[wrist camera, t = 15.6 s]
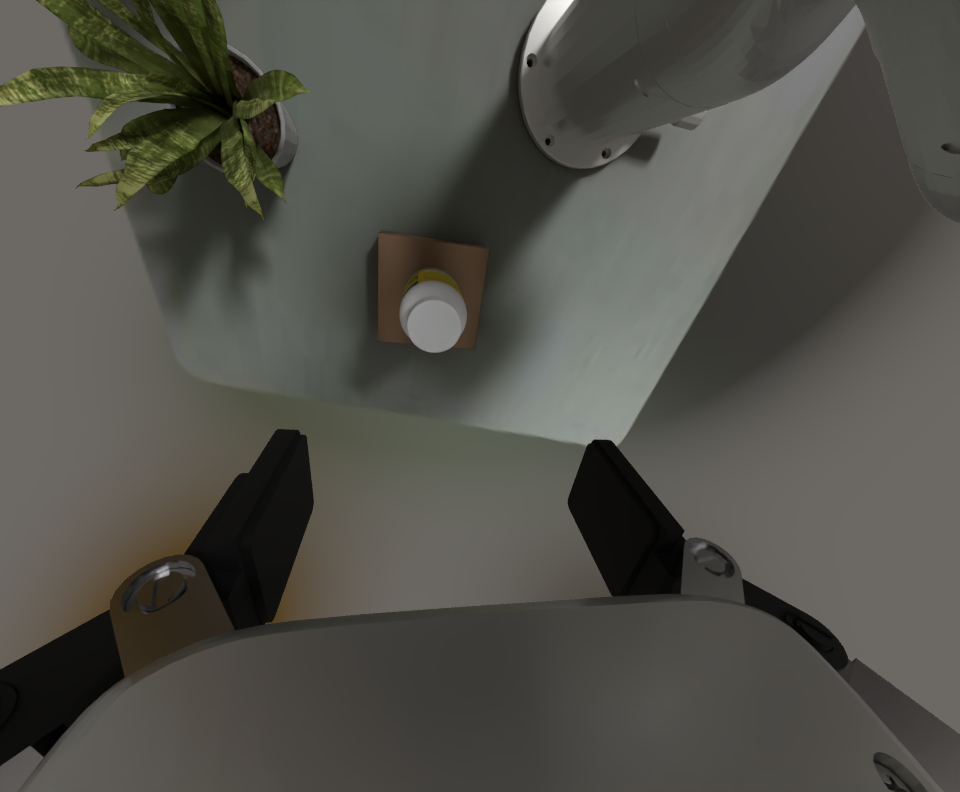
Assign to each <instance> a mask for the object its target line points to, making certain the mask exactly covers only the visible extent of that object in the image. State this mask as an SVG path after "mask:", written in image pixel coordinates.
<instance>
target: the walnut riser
mask: <svg viewBox="0 0 960 792" xmlns="http://www.w3.org/2000/svg"><path fill="white" fill-rule="evenodd" d="M489 250H490V249H489V248H487V247H485V246H482V245H475V244H468V243H462V242H455V241H448V240H441V239H435V238H428V237H421V236H414V235H407V234H401V233H394V232H387V231H381V232H379V233H378V341H379V342H391V343H403V344H414V343H413V342H412V341H411V339H410V338H409V337H408V336H407V334H406V333H405V332H404V330H403V328H402V325H401V322H400V316H399V313H400V304H401V300H402V296H403V291H404V288H405V285H406V283H407V281H408V279H409V278H410V277H411V276H412V275H413V274H414V273H415V272H417V271H419V270H421V269H424V268H437V269H441V270H443V271H445V272H447V273H448V274H449V275H450V276H451V277H452V278H453V279H454V280H455V282H456V283H457V285H458V287H459V290H460V292H461V295H462V297H463V299H464V302H465V305H466V310H467V321H466V325H465V328H464V330H463V332H462V334H461V335H460V337H459V339H458V341H457V342H456V343H455V345H454V346H452V347H451V348H463V349H474V350H475V345H476V338H477V332H478V325H479V318H480V311H481V304H482V298H483V291H484V284H485V277H486V270H487V264H488V257H489Z"/></svg>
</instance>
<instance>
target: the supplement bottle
mask: <svg viewBox="0 0 960 792" xmlns="http://www.w3.org/2000/svg"><path fill="white" fill-rule="evenodd" d="M399 316H400V322H401V325H402V328H403V330H404V332H405V333H406V334H407V336H408V337H409V338H410V339H411V341H412V342H413V343H414V344H415V345H416V346H417V347H418V348H420V349H421V350H423V351H426V352H430V353H439V352H443V351H446V350H448V349H450V348H451V347H452V346H454V345H455V343H456V342H457V341H458V339H459V337H460V335H461V334H462V332H463V330H464V328H465V325H466V321H467V310H466V305H465V302H464V299H463V297H462V295H461V292H460V290H459V287H458V285H457V283H456V282H455V280H454V279H453V278H452V277H451V276H450V275H449V274H448V273H447V272H445V271H443V270H441V269H437V268H424V269H421V270H419V271H417V272H415V273H414V274H413V275H412V276H411V277H410V278H409V279H408V281H407V283H406V285H405V288H404V291H403V296H402V300H401V304H400V313H399Z"/></svg>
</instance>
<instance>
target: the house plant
mask: <svg viewBox="0 0 960 792" xmlns="http://www.w3.org/2000/svg"><path fill="white" fill-rule="evenodd" d="M36 1H38V2H39V3H40V4H42V5H43V6H44V7H46V8H47V9H48V10H49V11H51V12H52V13H53V14H55V15H56V16H57V17H59V18H60V19H62V20H63V21H64V22H66V23H67V24H69V26H68V30H69V33H70V35H71V37H72V39H73V42H74V44H75V46H76V47H77V48H78V49H79V50H80V51H81V52H82V53H83V54H84V55H86V56H87V57H89V58H90V59H92V60H94V61H97V62H99V63H102V64H105V65H108V66H111V67H114V68H118V69H121V70H124V71H126V72H128V73H130V74H127V73H121V72H114V71H108V70H99V69H90V68H77V67H50V68H37V69H31V70H30V71H27V72H25V73H23V74H21V75H19V76H17V77H15V78H13V79H11V80H10V81H8V82H6V83H5V84H3V85H1V86H0V106H5V105H10V104H16V103H24V102H32V101H39V100H45V99H51V98H61V97H73V96H82V97H91V98H100V99H103V100H102V101H101V103H100V104H99V105H98V107H97V109H96V110H95V112H94V114H93V116H92V118H91V120H90V122H89V134H88V138H90V137H91V136H92V135H93V134H94V133H95V132H96V131H97V129H98V128H99V127H100V126H101V125H102V124H103V123H104V122H105V121H106V120H107V119H108V117H109V116H110V115H111V114H112V112H113V111H114V110H115V109H117V108H118V107H120V106H121V105H123V104H125V103H129V102H133V101H139V102H151V103H164V104H165V107H166V109H163V110H159V111H155V112H151V113H148V114H146V115H143V116H140V117H138V118H136V119H134V120H131V121H130V122H128V123H127V124H126V125H124V126H123V128H122V131H121V133H119V134H116V135H114V136H111V137H109V138H108V139H106V140H103V141H100V142H97V143H94V144H92V146H91V147H90V148H89V149H88V150H87V151H88V152H93V151H110V150H120V156H121V160H123V159H124V160H126V164H125V169H123V170H117V171H112V172H108V173H104V174H100V175H97V176H95V177H93V178H91V179H89V180H86V181H84V182H82V183H80V184H79V185H78V186H77V187H79V186H103V185H109V184H117V183H118V186H117V188H116V196H117V208H116V209H118V208H120V207H121V206H123V205H124V204H125V203H126V202H127V201H128V200H129V199H130V198H131V197H132V196H133V195H134V194H136V193H137V192H138V191H139V190H140V189H141V188H142V187H143V186H144V185H145V184H146V185H147V187H148V188H149V190H150V192H151V193H152V194H153V193H156V194H164V193H166V192H168V191H169V190H170V189H171V187H172V186H173V184H174V183H175V181H176V179H177V177H178V176H179V175H181V174H183V173H185V172H187V171H189V170H190V169H192V168H194V167H195V166H197V165H198V164H199V163H201V162H202V161H204V162H205V163H206V164H208V165H209V166H211V167H213V168H215V169H217V170H219V171H221V172H223V173H224V174H225V177H226V180H227V181H229V182H230V183H231V184H232V185H233V186H234V187H235V188H236V189H238V190H239V192H240V194H241V195H242V197H243V199H244V202H245V207H246V209H247V205H248V206H250V207H251V208H252V209H254V210H255V211H257V212H258V213H259V214H260V215H261V216H262V218H263V213H262V209H261V207H260V204H259V201H258V199H257V195H256V192H255V188H254V186H253V182H254V179H255V176H256V177H257V178H258V180H259V181H260V182H261V183H262V184H263V185H264V186H266V187H267V188H269V189H270V190H271V191H273V192H274V193H275V194H277V195H278V196H279V197H281V198H282V199H283V200H284V201H285V198H284V182H283V179H282V176H281V174H280V172H279V170H278V168H280V167H283V166H285V165H287V164H288V163H289V162H291V160H292V159H293V157H294V156H295V154H296V150H297V146H298V136H297V132H296V129H295V126H294V124H293V122H292V119H291V117H290V115H289V114H288V112H287V110H286V108H285V107H284V105H283V104H282V102H281V101H284V100H287V99H289V98H291V97H293V96H295V95H297V94H302V93H310V94H312V93H311V92H310V91H309V90H307V89H306V88H305V87H304V85H303V84H302V83H301V82H300V81H299V80H298V79H297V78H296V77H295V76H294V75H293V74H291V73H288V72H286V71H282V70H273V71H269V72H267V73H265V74H263V73H262V71H261V70H260V69H259V68H258V67H257V66H256V65H255V64H254V63H253V62H252V61H251V60H250V59H249V58H248V57H247V56H245V55H244V54H242V53H240V52H239V51H237V50H236V49H234V48H233V47H231V46H229V45H227V41H226V33H225V28H224V22H223V19H222V16H221V13H220V10H219V8H218V6H217V3H216V1H215V0H149V1H150V2H151V4H152V5H153V7H154V8H155V10H156V12H157V13H158V15H159V16H160V18H161V20H162V21H163V23H164V24H165V26H166V28H167V29H168V31H169V32H170V34H171V35H172V37H173V38H174V40H175V41H176V43H177V44H178V45H179V47H178V48H177V49H176V48H175V47H174V46H173V45H172V44H171V43H170V42H168V41H167V40H166V39H165V38H164V37H163V36H162V34H161V33H160V31H159V29H158V27H157V25H156V23H155V21H154V17H153V14H152V11H151V8H150V5H149V1H148V0H133V4H134V6H135V8H136V10H137V12H138V15H139V16H140V18H141V19H142V20H141V19H140V18H138V17H137V16H136V15H135V14H133V13H132V12H131V11H130V10H129V9H128V8H127V7H125V6H124V5H123V4H122V3H121V2H120V1H119V0H98V1H99V2H100V3H101V4H103V5H104V6H105V7H107V8H108V9H109V10H110V11H112V12H113V13H114V14H116V15H117V16H118V17H120V18H121V19H122V20H124V21H125V22H126V23H128V24H129V25H130V26H131V27H133V28H134V29H135V30H136V31H138V32H139V33H140V34H141V35H143V36H144V37H145V38H146V39H148V40H149V41H150V42H151V43H153V44H154V45H155V46H157V47H158V48H159V49H161V50H162V51H163V52H164V53H166V54H167V55H168V56H169V58H168V59H166V58H164V57H162V56H161V55H159V54H157V53H155V52H153V51H151V50H150V49H148V48H147V47H145V46H144V45H142V44H141V43H139V42H138V41H137V40H135V39H134V38H132V37H131V36H130V35H128V34H127V33H126V32H124V31H123V30H122V29H120V28H119V27H118V26H116V25H115V24H114V23H113V22H112V21H110V20H109V19H108V18H107V17H105V16H104V15H103V14H102V13H101V12H99V11H98V10H97V9H96V8H95V7H93V6H92V5H91V4H90V3H89V2H87V1H86V0H36ZM88 138H87V139H88ZM77 187H76V188H77ZM285 202H286V201H285ZM116 209H115V210H116ZM263 221H264V220H263Z"/></svg>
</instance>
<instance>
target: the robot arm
mask: <svg viewBox="0 0 960 792" xmlns="http://www.w3.org/2000/svg"><path fill="white" fill-rule="evenodd" d="M855 5H857V6H858V8H859V10H860V12H861V14H862V17H863V19H864V22H865V25H866V28H867V31H868V34H869V37H870V41H871V44H872V48H873V51H874V54H875V56H876V58H877V59H878V60H879V61H880V64H881V67H882V71H883V74H884V78H885V81H886V85H887V89H888V92H889V96H890V99H891V103H892V106H893V110H894V113H895V117H896V120H897V124H898V128H899V131H900V135H901V138H902V142H903V145H904V149H905V151H906V154H907V157H908V161H909V164H910V167H911V171H912V173H913V176H914V178H915V181H916V183H917V185H918V188H919V189H920V191H921V193H922V195H923V196H924V198H925V199H926V201H927V202H928V203H929V204H930V205H931V206H932V207H933V208H934V209H935V210H936V211H937V212H939V213H940V214H941V215H943V216H945V217H946V218H948V219H950V220H953V221H954V222H956V223H959V224H960V0H545V1H544V3H543V4H542V6H541V7H540V9H539V10H538V12H537V14H536V16H535V18H534V20H533V22H532V23H531V25H530V27H529V30H528V33H527V36H526V38H525V41H524V44H523V47H522V53H521V58H520V63H519V74H518V92H519V102H520V108H521V112H522V116H523V120H524V123H525V125H526V127H527V130H528V132H529V134H530V136H531V138H532V139H533V141H534V142H535V144H536V145H537V147H538V148H539V149H540V150H541V151H542V152H543V153H544V154H545V155H546V156H547V157H548V158H549V159H551V160H552V161H554V162H556V163H557V164H559V165H562V166H565V167H568V168H571V169H588V168H594V167H598V166H601V165H605V164H606V163H608V162H610V161H612V160H614V159H616V158H618V157H619V156H620V155H621V154H623V153H624V152H625V151H627V150H628V149H629V148H630V147H631V146H632V144H633V143H634V142H635V141H636V140H637V139H638V138H639V136H640V135H641V134H642V132H643V131H646V130H649V129H652V128H655V127H658V126H661V125H664V124H667V123H671V124H672V125H673V126H676V127H680V128H684V129H688V130H693V129H695V128H696V127H697V126H698V125H699V124H700V122H701V121H702V119H703V117H704V115H705V113H706V111H707V110H710V109H713V108H716V107H719V106H722V105H725V104H727V103H729V102H732V101H735V100H738V99H741V98H744V97H746V96H749V95H751V94H753V93H756V92H758V91H760V90H762V89H764V88H766V87H768V86H769V85H771V84H773V83H774V82H776V81H778V80H779V79H781V78H782V77H784V76H785V75H786V74H788V73H789V72H790V71H792V70H793V69H794V68H795V67H797V66H798V65H799V64H800V63H801V62H803V61H804V60H805V59H806V58H807V57H808V56H809V55H811V54H812V53H813V52H814V51H815V50H816V49H817V48H818V47H819V46H820V45H821V44H822V43H823V42H824V41H825V40H826V39H827V37H828V36H829V35H830V34H831V33H832V32H833V31H834V29H835V28H836V27H837V26H838V25H839V24H840V23H841V22H842V20H843V19H844V18H845V17H846V16H847V14H848V13H849V12H850V11H851V10H852V8H853V7H854V6H855ZM527 61H530V62H531V64H532V66H531V68H530V67H528V65H527ZM546 139H548V140H549V145H548V146H547V145H546V144H545V140H546ZM602 151H603V152H604V156H603V157H602ZM313 503H314V499H313V490H312V481H311V472H310V463H309V454H308V445H307V437H306V435H300V432H299V431H298V430H284V429H278V430H276V431H275V433H274V435H273V436H272V437H271V439H270V441H269V442H268V444H267V445H266V447H265V448H264V450H263V451H262V453H261V455H260V456H259V458H258V459H257V461H256V462H255V464H254V465H253V467H252V469H251V470H250V472H249V473H242V474H239V475H238V476H237V477H236V478H235V480H234V481H233V483H232V484H231V485H230V487H229V488H228V490H227V491H226V493H225V494H224V496H223V497H222V499H221V500H220V502H219V503H218V505H217V506H216V508H215V509H214V511H213V512H212V514H211V515H210V517H209V518H208V520H207V521H206V522H205V524H204V525H203V527H202V528H201V530H200V531H199V533H198V534H197V536H196V538H195V539H194V540H193V542H192V543H191V545H190V546H189V548H188V549H187V551H186V552H185V554H184V555H174V556H168V557H164V558H162V559H159V560H156V561H154V562H151V563H149V564H147V565H146V566H144V567H142V568H140V569H138V570H137V571H136V572H134V573H133V574H132V575H130V576H129V577H128V578H127V579H125V580H124V581H123V583H122V584H121V585H120V586H119V587H118V588H117V590H116V591H115V593H114V594H113V597H112V599H111V600H110V609H109V610H108V611H106V612H104V613H102V614H100V615H98V616H97V617H95V618H93V619H92V620H89V621H88V622H86V623H84V624H82V625H80V626H78V627H77V628H75V629H73V630H71V631H69V632H68V633H66V634H64V635H62V636H60V637H59V638H57V639H55V640H53V641H51V642H50V643H48V644H46V645H44V646H42V647H41V648H39V649H37V650H35V651H33V652H31V653H30V654H28V655H26V656H24V657H22V658H20V659H19V660H17V661H15V662H13V663H11V664H9V665H8V666H6V667H4V668H2V669H0V792H960V734H958V733H957V732H956V731H955V730H953V729H952V728H950V727H949V726H948V725H946V724H945V723H944V722H942V721H941V720H940V719H938V718H937V717H935V716H934V715H933V714H932V713H930V712H929V711H927V710H926V709H925V708H923V707H922V706H921V705H919V704H918V703H916V702H915V701H914V700H912V699H911V698H910V697H908V696H907V695H906V694H904V693H903V692H902V691H900V690H899V689H897V688H896V687H895V686H893V685H892V684H891V683H889V682H888V681H887V680H885V679H884V678H883V677H881V676H880V675H878V674H877V673H876V672H874V671H873V670H872V669H870V668H869V667H867V666H866V665H865V664H863V663H862V662H860V661H859V660H858V659H857V658H855V659H854V660H853V661H850V660H849V659H848V656H847V654H846V652H845V650H844V647H843V646H842V645H841V643H840V642H839V640H838V639H837V638H836V637H835V636H834V635H833V634H832V633H831V632H830V631H829V629H827V628H826V627H825V626H824V625H823V624H821V623H820V622H819V621H818V620H816V619H814V618H813V617H811V616H810V615H808V614H806V613H805V612H803V611H801V610H799V609H797V608H795V607H794V606H792V605H790V604H788V603H786V602H784V601H783V600H781V599H779V598H777V597H775V596H773V595H772V594H770V593H768V592H766V591H764V590H762V589H761V588H759V587H757V586H755V585H753V584H751V583H750V582H748V581H746V580H744V579H742V575H741V571H740V568H739V566H738V564H737V563H736V561H735V560H734V559H733V558H732V557H731V555H730V554H729V553H727V552H726V551H725V550H724V549H722V548H721V547H720V546H718V545H716V544H714V543H712V542H710V541H708V540H705V539H702V538H689V539H688V540H685V539H684V537H683V536H682V534H683V533H684V530H683V528H682V527H681V526H680V525H679V523H678V522H677V521H676V520H675V519H674V517H673V516H672V515H671V513H669V511H668V510H667V509H666V507H665V506H664V505H663V504H662V502H661V501H660V500H659V499H658V497H657V496H656V495H655V494H654V492H653V491H652V490H651V489H650V488H649V486H648V485H647V484H646V483H645V481H644V480H643V479H642V478H641V477H640V475H639V474H638V473H637V471H636V470H635V469H634V468H633V466H631V464H630V463H629V462H628V460H627V459H626V458H625V457H624V455H623V454H622V453H621V452H620V450H619V449H618V448H617V447H616V445H615V444H614V443H613V442H612V441H611V440H593V441H592V443H590V444H588V445H587V447H586V450H585V453H584V456H583V459H582V461H581V464H580V467H579V470H578V472H577V475H576V478H575V481H574V483H573V486H572V489H571V492H570V495H569V498H568V506H569V509H570V512H571V514H572V515H573V518H574V519H575V522H576V524H577V526H578V528H579V530H580V532H581V534H582V536H583V538H584V540H585V542H586V544H587V546H588V548H589V550H590V552H591V555H592V557H593V558H594V560H595V563H596V565H597V567H598V569H599V571H600V573H601V575H602V577H603V579H604V581H605V583H606V585H607V587H608V589H609V591H610V593H611V595H612V596H613V597H600V598H586V599H585V598H584V599H569V600H553V601H539V602H525V603H511V604H510V603H509V604H495V605H481V606H467V607H452V608H439V609H426V610H413V611H399V612H386V613H373V614H360V615H349V616H338V617H327V618H317V619H306V620H295V621H288V622H280V623H273V624H266V625H265V623H267V622H272V621H273V619H274V617H275V615H276V612H277V609H278V606H279V604H280V601H281V598H282V595H283V592H284V590H285V587H286V584H287V581H288V578H289V575H290V572H291V570H292V567H293V564H294V561H295V558H296V556H297V552H298V549H299V547H300V544H301V541H302V539H303V536H304V533H305V530H306V527H307V524H308V521H309V519H310V516H311V513H312V510H313Z"/></svg>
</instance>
